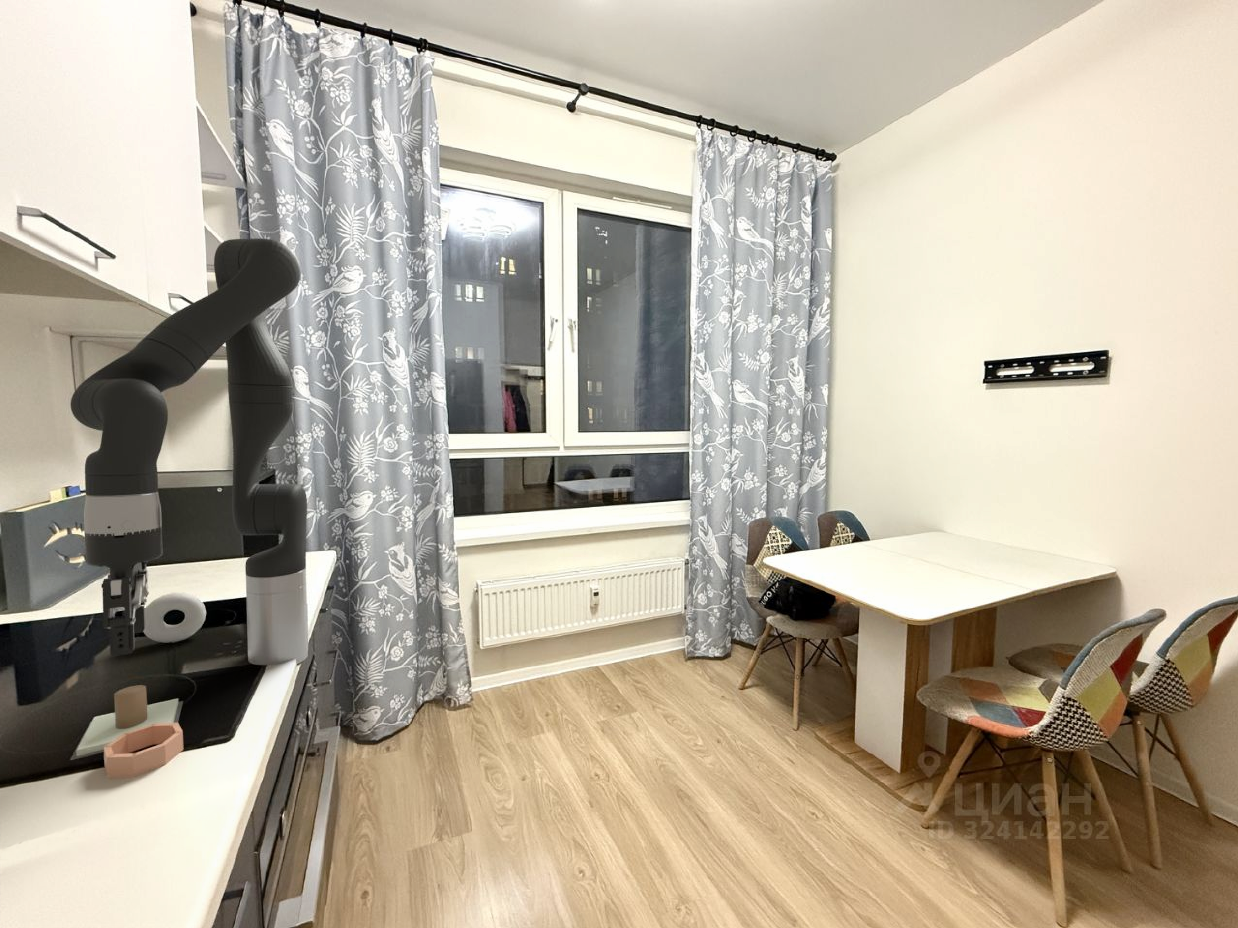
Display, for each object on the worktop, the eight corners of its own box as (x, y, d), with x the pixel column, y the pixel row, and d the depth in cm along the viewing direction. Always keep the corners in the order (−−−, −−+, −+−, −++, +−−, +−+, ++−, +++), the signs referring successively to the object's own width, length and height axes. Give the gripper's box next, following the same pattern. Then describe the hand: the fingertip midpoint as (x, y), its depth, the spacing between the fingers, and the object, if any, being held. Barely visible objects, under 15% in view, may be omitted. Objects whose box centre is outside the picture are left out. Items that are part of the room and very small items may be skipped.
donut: (207, 633, 106) (206, 586, 105) (206, 638, 103) (204, 591, 102) (142, 644, 100) (140, 594, 99) (139, 650, 97) (137, 600, 96)
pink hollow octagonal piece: (138, 752, 67) (137, 723, 67) (195, 750, 68) (194, 721, 68) (89, 789, 61) (87, 757, 60) (153, 786, 61) (151, 755, 61)
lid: (94, 722, 71) (92, 686, 71) (178, 703, 77) (177, 669, 76) (76, 756, 64) (74, 716, 64) (170, 732, 69) (169, 695, 69)
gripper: (97, 521, 72) (102, 632, 73) (69, 538, 61) (75, 669, 61) (167, 517, 77) (171, 621, 77) (154, 532, 65) (158, 654, 66)
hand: (128, 642), depth 69 cm, fingers open, 8 cm apart
